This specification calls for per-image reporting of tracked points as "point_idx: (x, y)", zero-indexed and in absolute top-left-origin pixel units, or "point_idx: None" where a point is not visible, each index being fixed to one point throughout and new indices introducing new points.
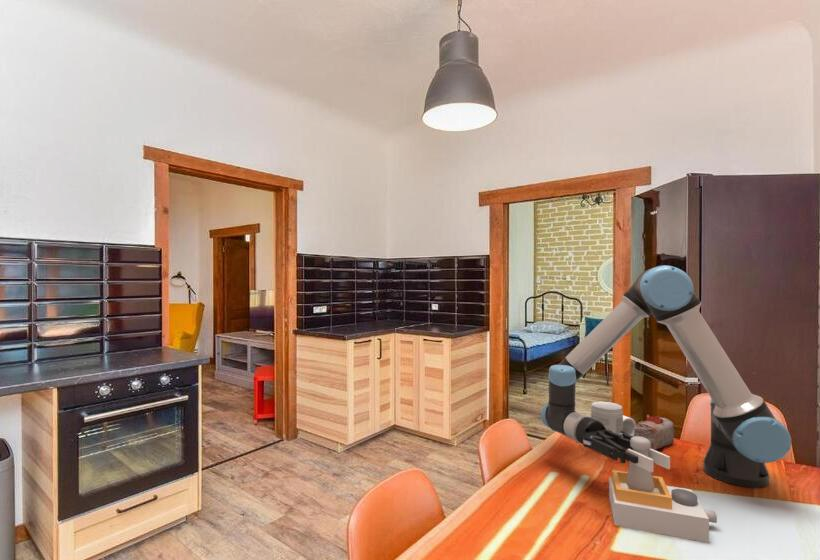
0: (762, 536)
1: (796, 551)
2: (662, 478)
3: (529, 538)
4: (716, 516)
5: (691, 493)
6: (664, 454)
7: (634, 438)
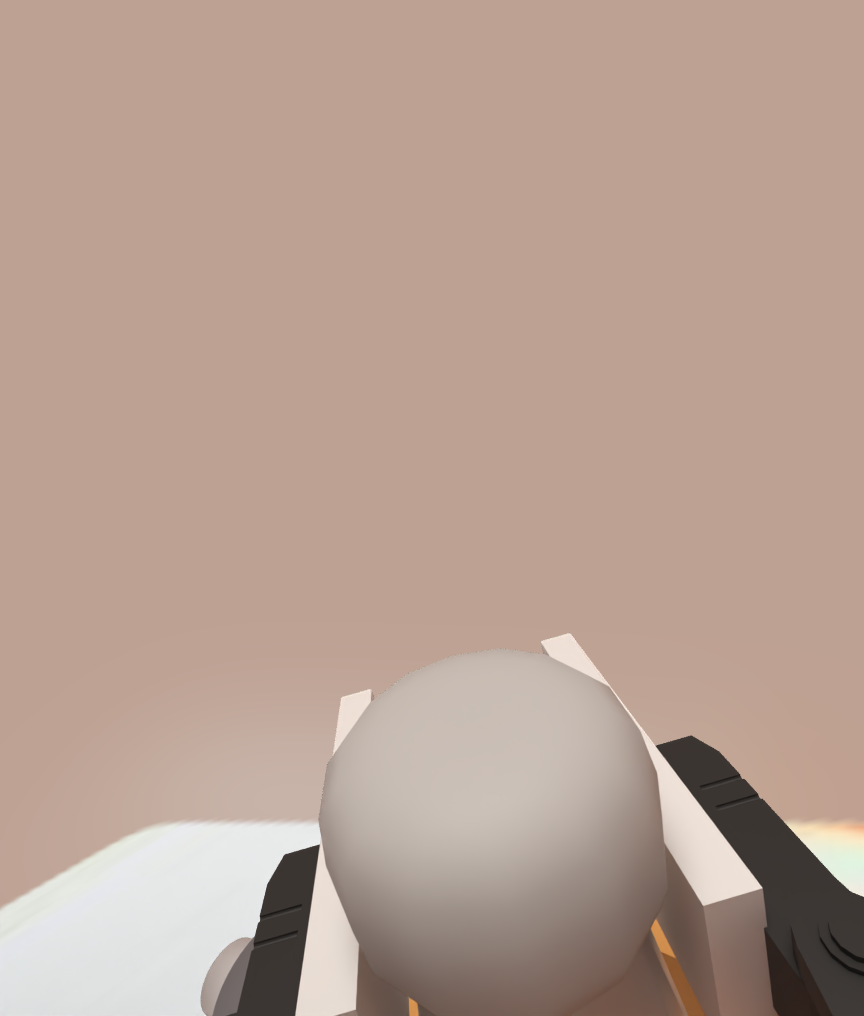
0: (148, 926)
1: (178, 832)
2: None
3: None
4: (247, 938)
5: (236, 991)
6: (341, 731)
7: (580, 712)
